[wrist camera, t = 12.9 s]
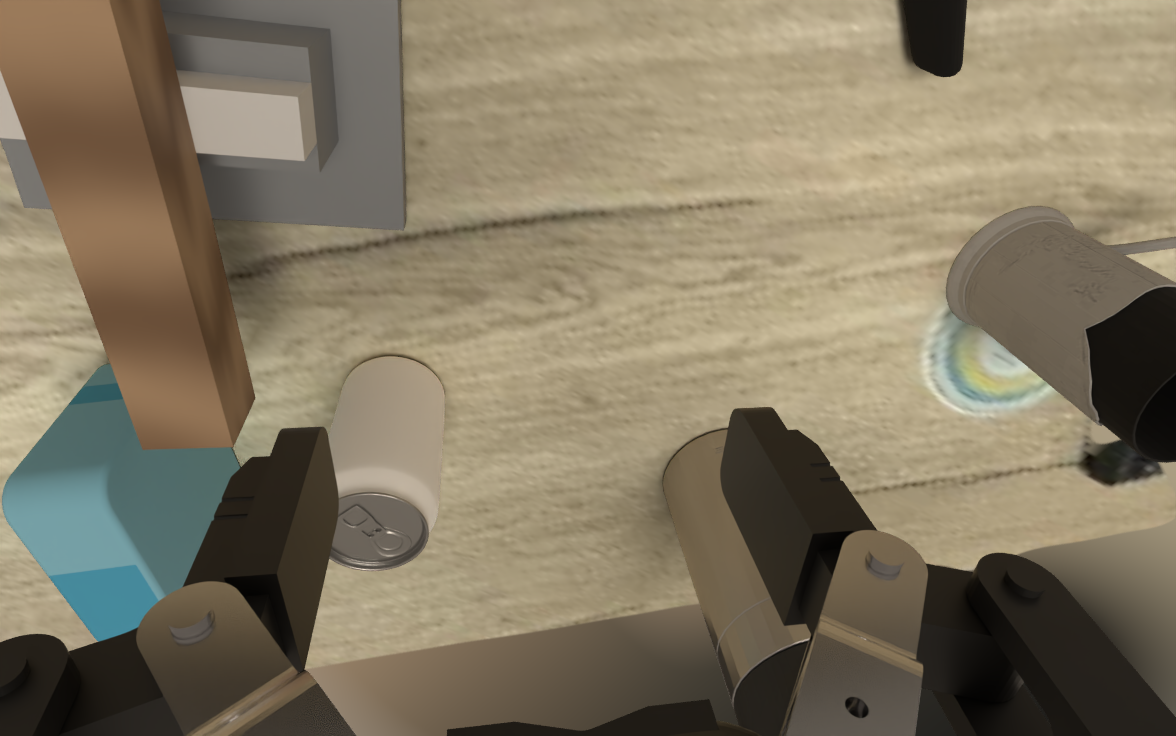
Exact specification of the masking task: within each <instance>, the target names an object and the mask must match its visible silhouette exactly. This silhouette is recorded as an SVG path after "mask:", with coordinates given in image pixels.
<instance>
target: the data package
mask: <svg viewBox="0 0 1176 736" xmlns="http://www.w3.org/2000/svg"><path fill="white" fill-rule="evenodd" d="M239 469H240V466H239V464H238V462H237V459H236V457H235V455H234V453H233V450H232V448H231V447H222V448H188V449H154V450H142V447H141V444H140V442H139V439H138V436H137V434H136V431H135V428H134V426H133V423H132V420H131V418H130V415H129V412H128V410H127V407H126V404H125V402H124V399H123V396H122V394H121V391H120V388H119V386H118V383H117V380H116V378H115V375H114V372H113V370H112V367H111V364H106V365H103V366H101V367H100V368H98V369H97V370H96V372H95V373H94V374H93V375H92V377H91V378H90V379H89V380H88V381H87V383H86V384H85V385H84V386H83V388H82V389H81V390H80V391H79V392H78V394H77V395H76V396H75V397H74V398H73V400H72V401H71V402H70V403H69V405H68V406H67V407H66V408H65V409H64V411H63V412H62V413H61V414H60V416H59V417H58V418H57V419H56V420H55V422H54V423H53V424H52V425H51V427H50V428H49V429H48V430H47V431H46V433H45V434H44V435H43V436H42V438H41V439H40V440H39V441H38V442H37V444H36V445H35V446H34V447H33V448H32V450H31V451H30V452H29V453H28V455H27V456H26V457H25V458H24V459H23V461H22V462H21V463H20V464H19V466H18V467H17V468H16V469H15V470H14V472H13V473H12V474H11V475H10V477H9V478H8V480H7V482H6V484H5V487H4V490H3V495H2V506H3V512H4V515H5V518H6V520H7V522H8V523H9V525H10V526H11V528H12V529H13V530H14V532H15V533H16V534H17V536H18V537H19V538H20V540H21V541H22V542H23V544H24V545H25V546H26V547H27V549H28V550H29V551H30V553H31V554H32V555H33V557H34V558H35V559H36V561H37V562H38V563H39V565H40V566H41V567H42V569H43V570H44V571H45V573H46V574H47V575H48V577H49V578H50V579H51V581H52V582H53V583H54V585H55V586H56V587H57V589H58V590H59V591H60V593H61V594H62V595H63V597H64V598H65V599H66V600H67V602H68V603H69V604H70V606H71V607H72V608H73V610H74V611H75V612H76V614H77V615H78V616H79V618H80V619H81V620H82V622H83V623H84V624H85V626H86V627H87V628H88V630H89V631H90V632H91V634H92V635H93V636H94V638H95V639H96V640H97V641H98V642H99V641H102V640H105V639H109V638H112V637H115V636H118V635H121V634H123V633H126V632H129V631H131V630H133V629H135V628H137V627H139V625H140V622H141V621H142V619H143V617H144V616H145V614H146V613H147V612H148V611H149V610H150V609H151V608H152V607H153V606H154V605H155V604H156V603H157V602H158V601H160V600H161V599H162V598H164V597H165V596H167V595H169V594H170V593H172V592H174V591H176V590H178V589H180V588H182V587H183V585H184V582H185V580H186V578H187V576H188V573H189V571H190V569H191V567H192V564H193V562H194V560H195V557H196V555H197V553H198V551H199V548H200V546H201V544H202V542H203V539H204V537H205V535H206V532H207V530H208V528H209V526H210V523H211V521H213V520H214V514H215V512H216V510H217V507H218V505H219V503H221V502H222V496H223V494H224V492H225V489H226V487H227V485H228V482H229V480H230V478H231V476H232V475H233V474H234V473H235V472H237V471H238V470H239Z"/></svg>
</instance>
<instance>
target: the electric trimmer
mask: <svg viewBox="0 0 1176 736" xmlns="http://www.w3.org/2000/svg"><path fill="white" fill-rule="evenodd" d="M904 6H905V13H906V20H907V27H908V34H909V41H910V47H911V54H912V58H913V61H914V63H915V64H916V66H918V67H919V68H921V69H923V70H925V71H927V72H930V73H932V74H934V75H936V76H940V77H951V76H954V75H956V74H957V73H958V72H959V71H960V70H961V67H962V63H963V50H964V36H965V22H966V8H967V0H904Z"/></svg>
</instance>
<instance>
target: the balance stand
mask: <svg viewBox="0 0 1176 736" xmlns="http://www.w3.org/2000/svg"><path fill="white" fill-rule="evenodd" d="M159 1H160V5H161V10H162V14H163V18H164V22H165V26H166V30H167V34H168V38H169V43H170V47H171V51H172V55H173V59H174V63H175V67H176V72H177V76H178V80H179V84H180V88H181V92H182V96H183V101H184V105H185V109H186V113H187V117H188V121H189V125H190V129H191V134H192V138H193V142H194V146H195V150H196V154H197V158H198V163H199V167H200V171H201V175H202V179H203V183H204V187H205V191H206V196H207V200H208V204H209V208H210V212H211V216H212V219H222V220H239V221H255V222H272V223H289V224H305V225H322V226H338V227H355V228H372V229H388V230H404V228H405V224H406V187H405V148H404V109H403V69H402V30H401V0H159ZM0 140H1V143H2V146H3V149H4V150H5V153H6V156H7V159H8V162H9V165H10V168H11V170H12V173H13V176H14V179H15V182H16V185H17V188H18V191H19V194H20V197H21V199H22V202H23V205H24V208H40V209H52V207H51V204H50V202H49V199H48V196H47V194H46V191H45V188H44V186H43V183H42V180H41V178H40V175H39V172H38V170H37V167H36V164H35V162H34V159H33V156H32V154H31V151H30V148H29V146H28V143H27V140H26V138H25V135H24V132H23V130H22V127H21V124H20V122H19V119H18V116H17V114H16V111H15V108H14V106H13V103H12V100H11V98H10V95H9V92H8V90H7V87H6V84H5V82H4V79H3V76H2V74H1V71H0Z"/></svg>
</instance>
